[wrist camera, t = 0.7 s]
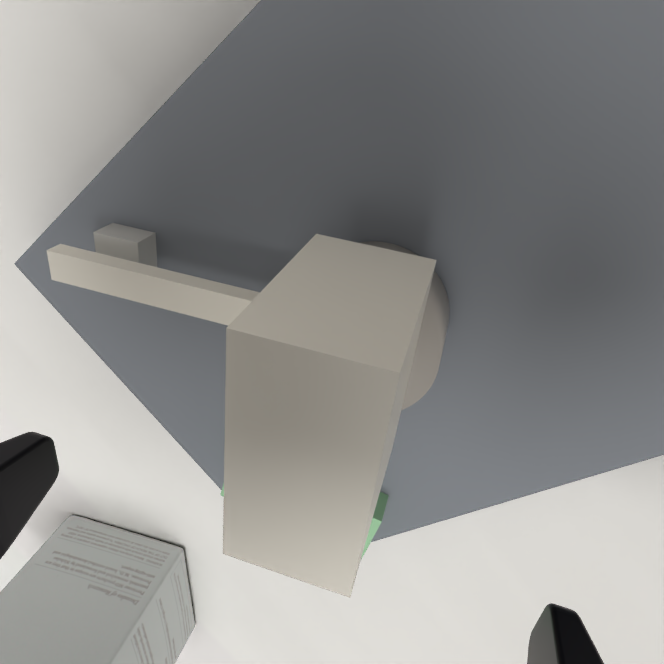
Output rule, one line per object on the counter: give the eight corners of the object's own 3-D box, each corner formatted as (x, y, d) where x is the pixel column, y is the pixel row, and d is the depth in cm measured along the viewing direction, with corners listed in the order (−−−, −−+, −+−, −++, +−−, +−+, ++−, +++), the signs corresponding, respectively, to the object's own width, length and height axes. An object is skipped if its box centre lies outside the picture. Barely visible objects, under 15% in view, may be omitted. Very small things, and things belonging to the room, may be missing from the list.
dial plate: (593, -320, 10) (617, -420, 8) (893, 345, 14) (967, 406, 12) (43, 249, 21) (-15, 277, 19) (301, 539, 25) (280, 591, 23)
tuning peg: (472, 232, 15) (443, 384, 8) (427, 403, 18) (381, 608, 11) (84, 152, 17) (-168, 225, 11) (104, 317, 20) (-83, 448, 14)
